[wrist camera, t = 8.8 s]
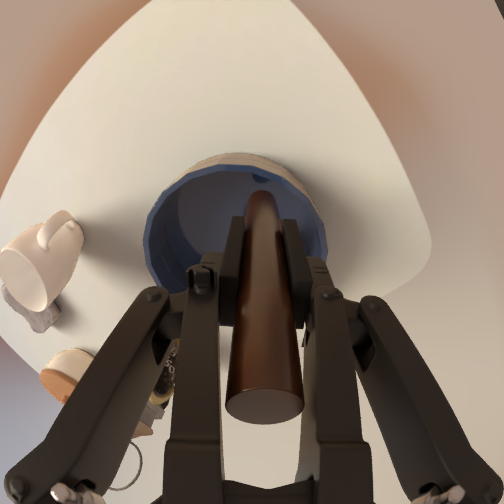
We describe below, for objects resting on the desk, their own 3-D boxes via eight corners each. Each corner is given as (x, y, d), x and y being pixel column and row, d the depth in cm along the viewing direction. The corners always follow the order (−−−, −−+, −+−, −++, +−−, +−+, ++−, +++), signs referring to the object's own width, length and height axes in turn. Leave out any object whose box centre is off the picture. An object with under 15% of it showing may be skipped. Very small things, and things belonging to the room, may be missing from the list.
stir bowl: (325, 159, 27) (341, 172, 22) (304, 296, 35) (310, 330, 30) (157, 152, 27) (134, 164, 22) (169, 288, 35) (156, 319, 30)
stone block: (28, 251, 36) (7, 281, 37) (14, 264, 31) (-6, 295, 32) (73, 302, 41) (48, 326, 42) (63, 318, 36) (38, 342, 37)
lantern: (171, 306, 37) (113, 484, 15) (199, 345, 40) (168, 506, 19) (125, 318, 39) (60, 467, 17) (154, 354, 42) (112, 494, 20)
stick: (277, 190, 23) (312, 388, 7) (275, 217, 24) (297, 425, 8) (247, 188, 23) (223, 385, 7) (246, 216, 24) (226, 423, 8)
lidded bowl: (48, 338, 43) (23, 377, 34) (89, 337, 42) (63, 384, 32) (81, 378, 49) (64, 417, 40) (123, 381, 47) (107, 426, 38)
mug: (81, 271, 35) (39, 324, 25) (43, 233, 32) (-7, 277, 22) (120, 214, 31) (69, 265, 21) (74, 170, 28) (11, 205, 18)
